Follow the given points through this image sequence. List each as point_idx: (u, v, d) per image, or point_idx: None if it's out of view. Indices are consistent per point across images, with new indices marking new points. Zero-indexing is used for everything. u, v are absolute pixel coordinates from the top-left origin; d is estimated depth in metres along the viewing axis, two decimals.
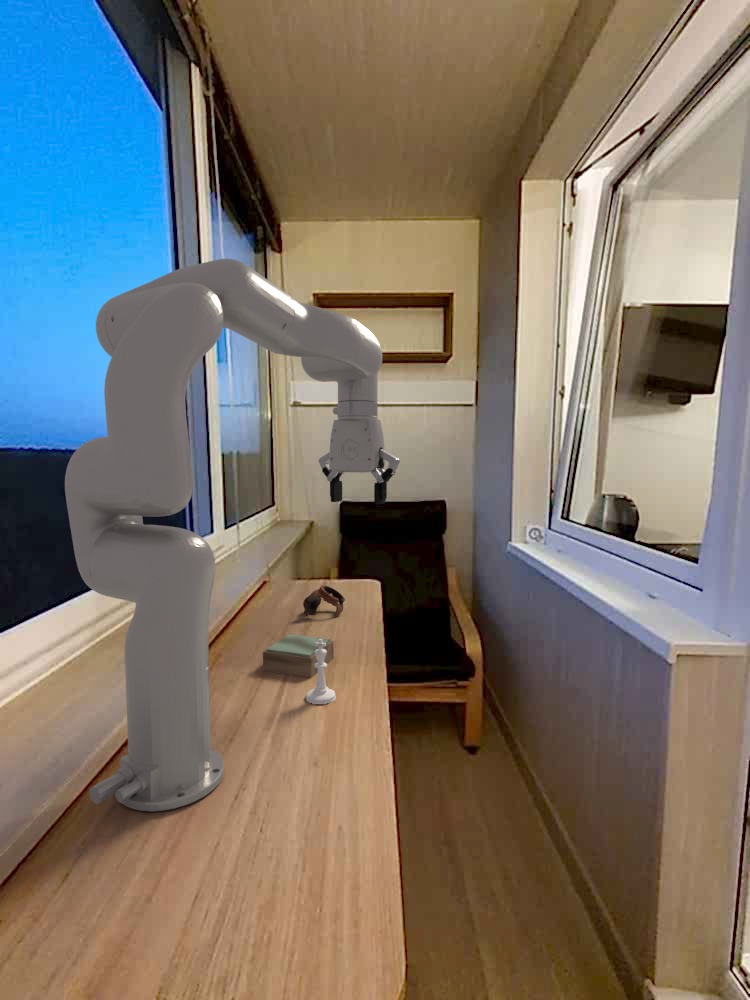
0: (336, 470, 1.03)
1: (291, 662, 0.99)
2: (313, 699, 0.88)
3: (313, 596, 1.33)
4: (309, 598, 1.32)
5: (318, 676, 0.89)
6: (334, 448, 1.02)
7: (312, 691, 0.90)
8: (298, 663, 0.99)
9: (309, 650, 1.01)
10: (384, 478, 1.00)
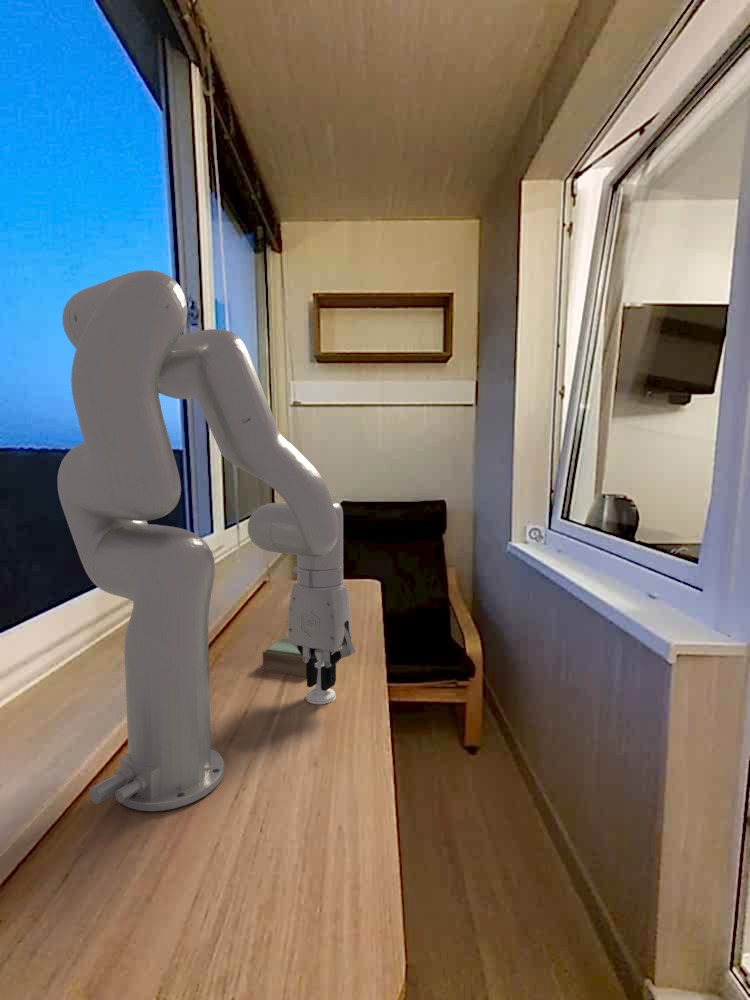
0: (295, 643, 0.89)
1: (291, 662, 0.99)
2: (313, 699, 0.88)
3: None
4: None
5: (318, 676, 0.89)
6: (293, 618, 0.88)
7: (312, 691, 0.90)
8: (298, 663, 0.99)
9: None
10: (332, 662, 0.88)
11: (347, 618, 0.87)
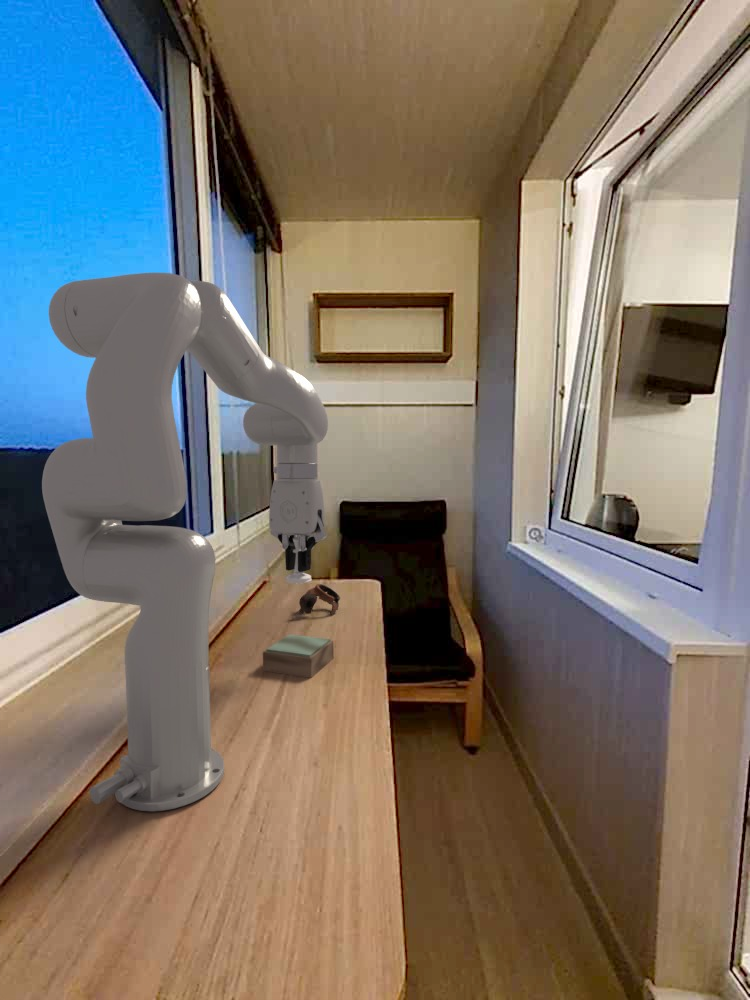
0: (276, 531, 1.02)
1: (291, 662, 0.99)
2: (291, 579, 1.01)
3: (309, 594, 1.35)
4: (305, 596, 1.34)
5: (296, 560, 1.03)
6: (274, 509, 1.01)
7: (291, 574, 1.03)
8: (298, 663, 0.99)
9: (309, 650, 1.01)
10: (307, 546, 1.01)
11: (320, 507, 1.00)
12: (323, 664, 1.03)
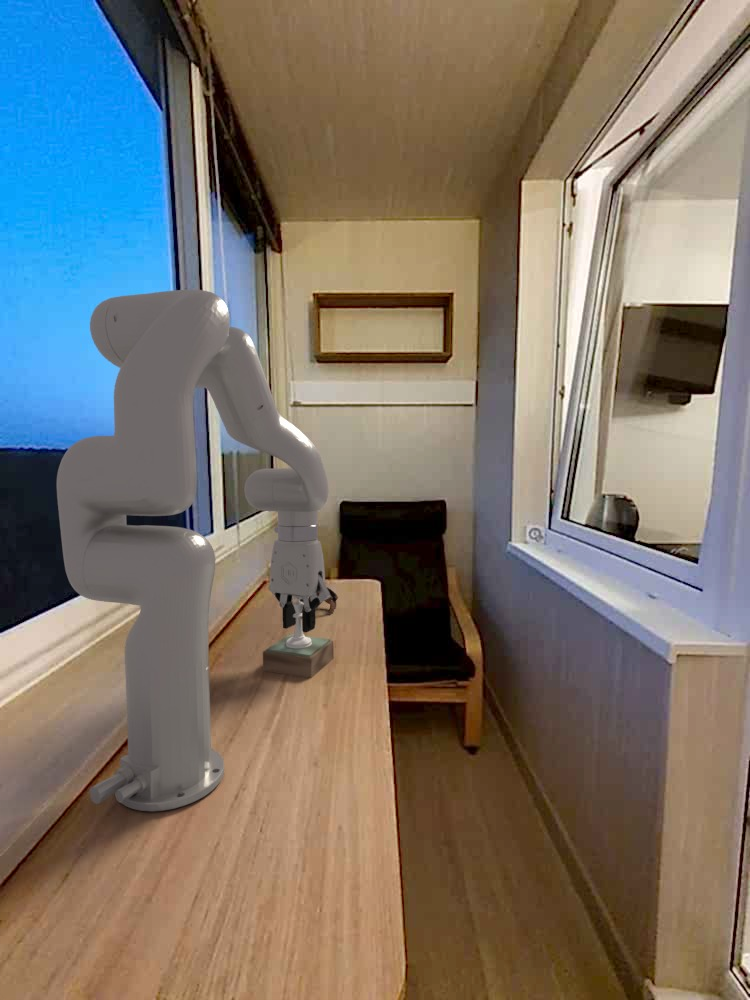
0: (276, 591, 1.03)
1: (291, 662, 0.99)
2: (292, 644, 1.02)
3: None
4: None
5: (296, 625, 1.03)
6: (275, 570, 1.02)
7: (291, 638, 1.04)
8: (298, 663, 0.99)
9: (309, 650, 1.01)
10: (311, 607, 1.01)
11: (321, 569, 1.01)
12: (323, 664, 1.03)
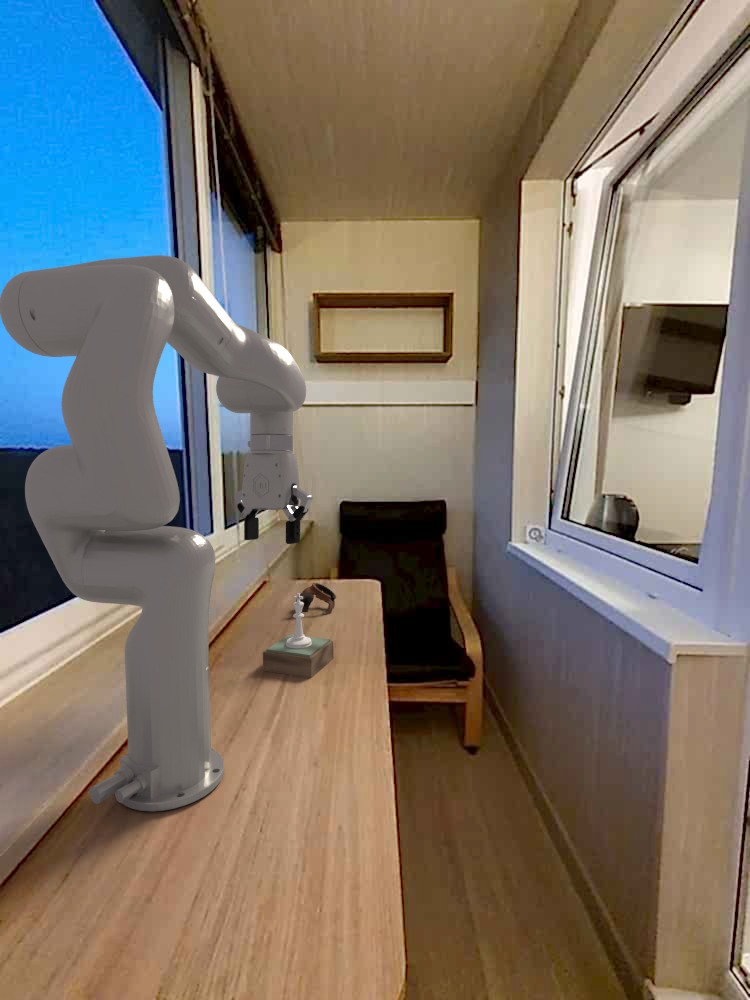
0: (248, 507, 0.97)
1: (291, 662, 0.99)
2: (292, 644, 1.02)
3: (306, 593, 1.36)
4: (302, 595, 1.35)
5: (296, 625, 1.03)
6: (247, 484, 0.97)
7: (291, 638, 1.04)
8: (298, 663, 0.99)
9: (309, 650, 1.01)
10: (296, 516, 0.94)
11: (294, 481, 0.95)
12: (323, 664, 1.03)
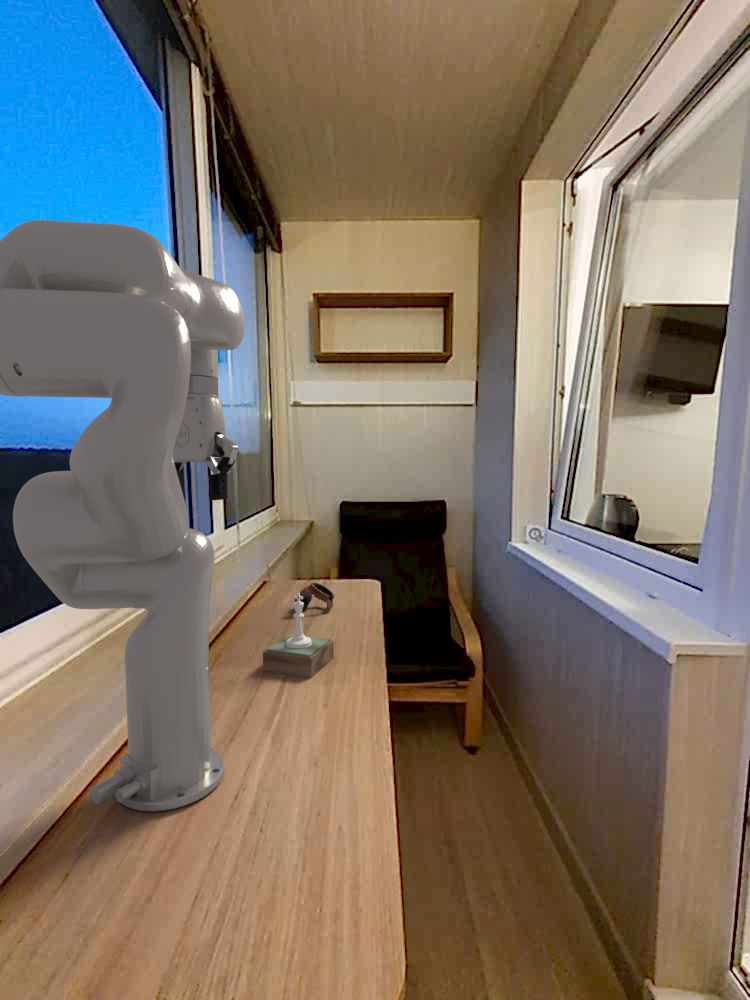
0: None
1: (291, 662, 0.99)
2: (292, 644, 1.02)
3: (304, 593, 1.36)
4: (301, 595, 1.35)
5: (296, 625, 1.03)
6: None
7: (291, 638, 1.04)
8: (298, 663, 0.99)
9: (309, 650, 1.01)
10: (220, 468, 0.83)
11: (219, 429, 0.84)
12: (323, 664, 1.03)
